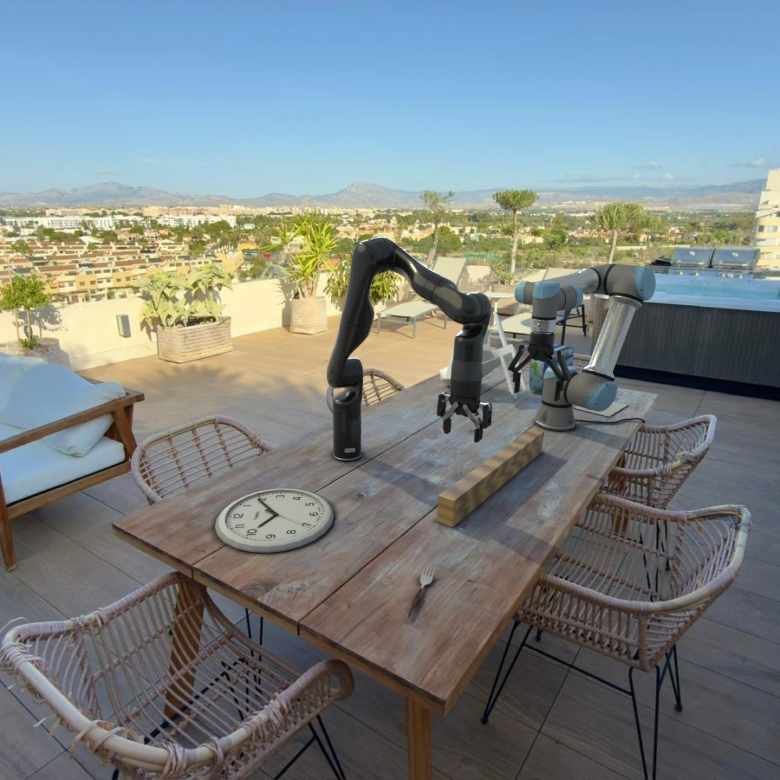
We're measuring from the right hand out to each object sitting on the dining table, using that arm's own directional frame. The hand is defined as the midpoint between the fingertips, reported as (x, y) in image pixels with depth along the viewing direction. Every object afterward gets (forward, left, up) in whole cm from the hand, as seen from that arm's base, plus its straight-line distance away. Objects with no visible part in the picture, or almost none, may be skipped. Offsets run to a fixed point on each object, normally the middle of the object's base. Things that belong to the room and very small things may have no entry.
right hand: (536, 396), depth 170 cm
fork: (+32, +75, -21) cm, 85 cm away
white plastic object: (+14, -69, -21) cm, 73 cm away
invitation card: (-38, -57, -21) cm, 71 cm away
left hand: (+25, +43, +1) cm, 49 cm away
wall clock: (+71, +51, -21) cm, 90 cm away
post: (+13, +21, -21) cm, 33 cm away
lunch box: (-20, -80, -21) cm, 85 cm away
